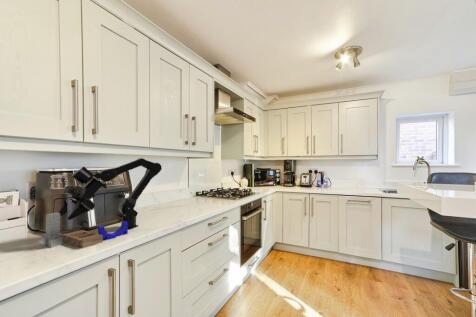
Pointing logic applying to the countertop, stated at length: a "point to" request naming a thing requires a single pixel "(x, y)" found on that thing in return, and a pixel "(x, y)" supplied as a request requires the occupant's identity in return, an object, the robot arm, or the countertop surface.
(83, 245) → the rail
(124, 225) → the cable clip
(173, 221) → the countertop surface
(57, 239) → the grey tower on plinth
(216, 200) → the countertop surface
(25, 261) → the countertop surface
